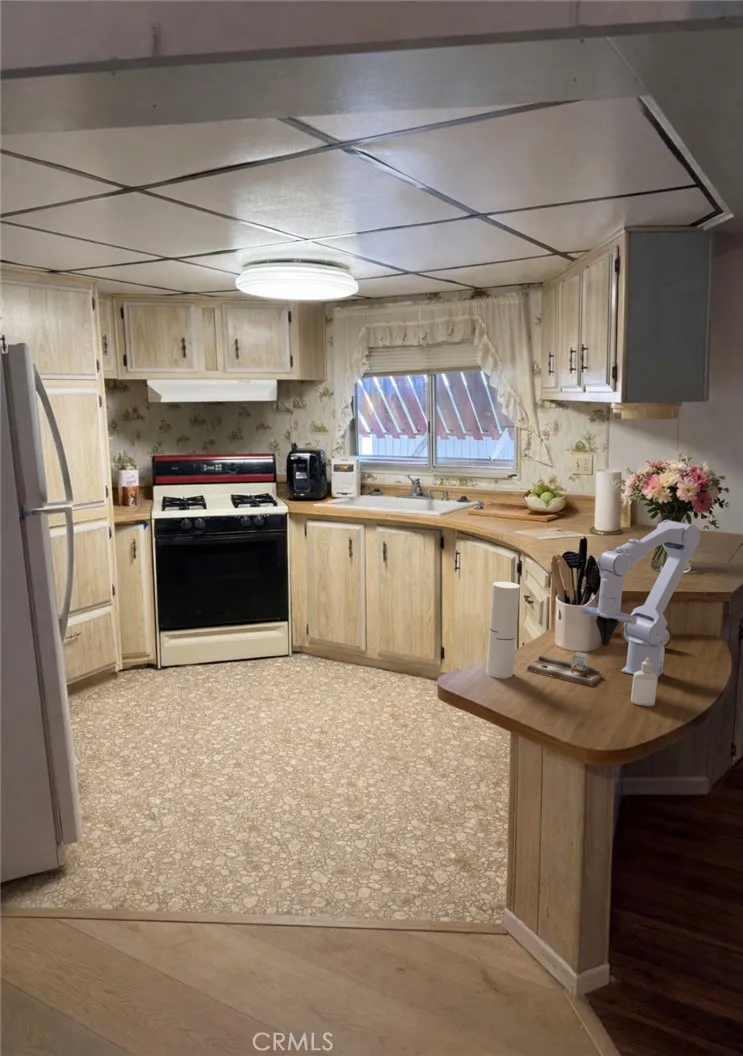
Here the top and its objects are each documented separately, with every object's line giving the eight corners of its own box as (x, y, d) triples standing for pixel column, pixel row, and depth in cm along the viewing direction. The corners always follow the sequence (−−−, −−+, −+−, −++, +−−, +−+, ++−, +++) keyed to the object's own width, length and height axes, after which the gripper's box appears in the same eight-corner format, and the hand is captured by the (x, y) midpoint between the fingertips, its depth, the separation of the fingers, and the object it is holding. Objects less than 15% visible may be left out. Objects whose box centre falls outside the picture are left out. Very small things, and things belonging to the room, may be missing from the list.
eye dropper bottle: (651, 709, 187) (656, 662, 185) (628, 702, 190) (633, 657, 188) (656, 704, 190) (661, 658, 188) (634, 697, 193) (639, 653, 191)
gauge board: (601, 677, 207) (603, 665, 207) (591, 686, 200) (592, 674, 199) (539, 662, 217) (540, 650, 216) (527, 670, 210) (528, 658, 209)
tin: (670, 648, 235) (673, 622, 234) (670, 651, 232) (673, 625, 231) (619, 641, 240) (622, 616, 238) (619, 644, 237) (622, 618, 235)
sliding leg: (586, 668, 209) (587, 654, 209) (577, 675, 203) (578, 661, 203) (575, 665, 211) (577, 651, 210) (566, 672, 205) (567, 658, 204)
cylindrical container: (496, 667, 211) (503, 580, 207) (517, 674, 206) (525, 585, 202) (481, 672, 206) (487, 583, 202) (502, 680, 201) (509, 589, 197)
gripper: (578, 593, 202) (574, 642, 205) (633, 604, 194) (628, 654, 197) (587, 589, 208) (582, 636, 210) (641, 598, 200) (635, 647, 202)
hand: (605, 644), depth 204 cm, fingers closed
